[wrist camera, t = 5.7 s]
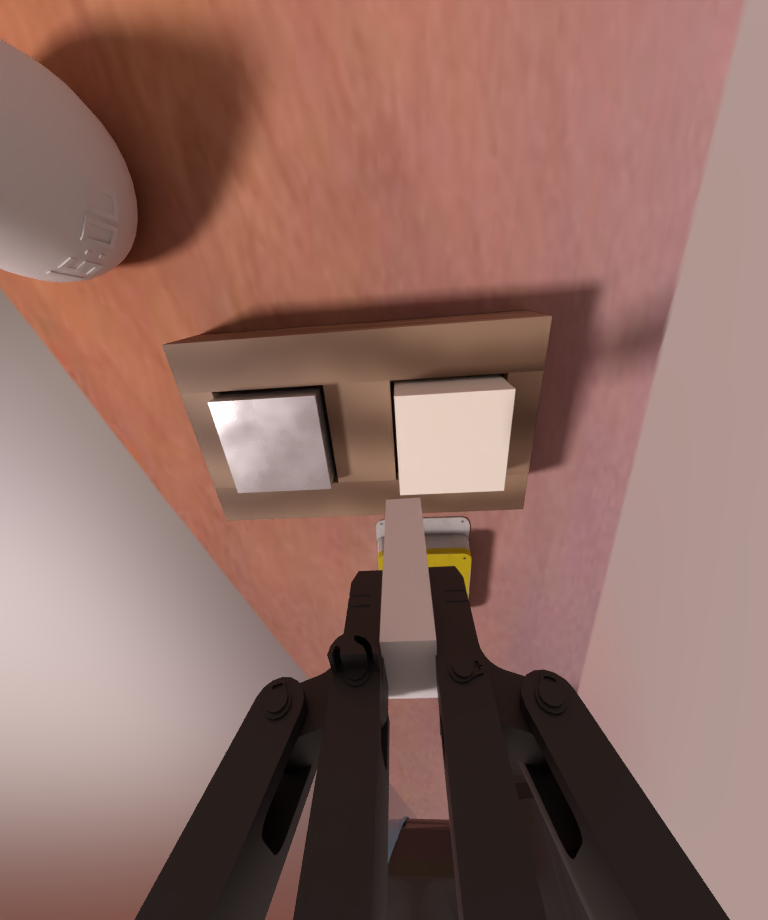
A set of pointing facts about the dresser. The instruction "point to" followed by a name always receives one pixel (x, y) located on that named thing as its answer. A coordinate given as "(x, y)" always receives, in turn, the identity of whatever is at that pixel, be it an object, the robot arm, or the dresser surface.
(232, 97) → the dresser surface
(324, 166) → the dresser surface
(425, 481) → the cream key
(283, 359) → the brown wooden flat block
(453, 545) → the emergency button
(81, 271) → the toy character
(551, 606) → the dresser surface
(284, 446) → the steel key
